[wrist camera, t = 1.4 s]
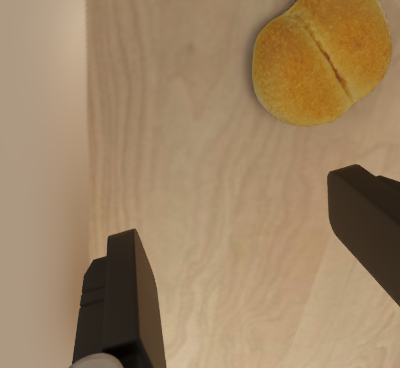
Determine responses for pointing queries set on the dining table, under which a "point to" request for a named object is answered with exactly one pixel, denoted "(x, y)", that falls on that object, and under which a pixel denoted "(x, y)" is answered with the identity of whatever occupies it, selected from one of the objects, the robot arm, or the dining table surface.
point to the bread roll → (320, 59)
